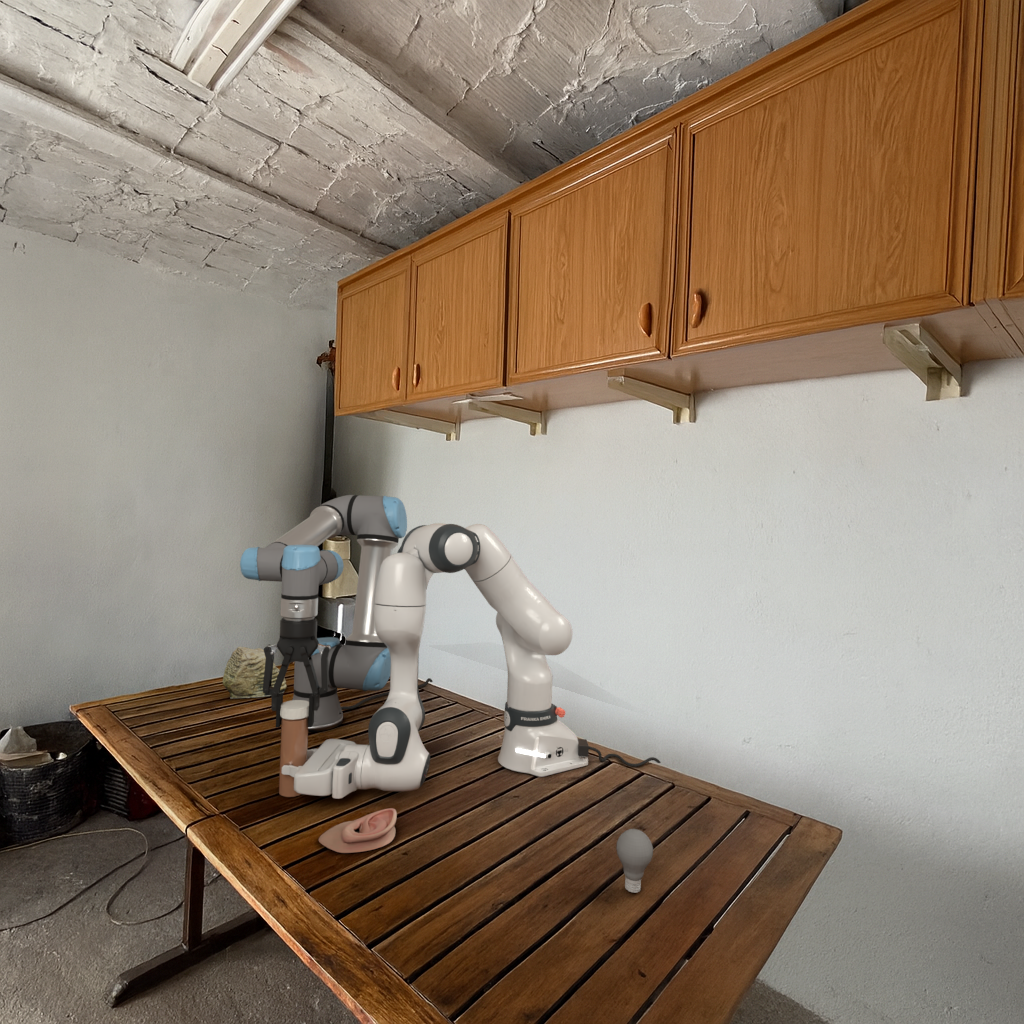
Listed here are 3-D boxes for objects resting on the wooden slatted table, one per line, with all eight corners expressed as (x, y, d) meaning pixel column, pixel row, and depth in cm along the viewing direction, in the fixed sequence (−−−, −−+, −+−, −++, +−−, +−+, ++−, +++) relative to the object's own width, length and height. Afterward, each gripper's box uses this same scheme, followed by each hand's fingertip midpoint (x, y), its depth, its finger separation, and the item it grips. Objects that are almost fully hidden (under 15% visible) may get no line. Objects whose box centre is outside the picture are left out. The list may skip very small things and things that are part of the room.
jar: (301, 783, 140) (304, 702, 139) (309, 793, 135) (312, 709, 135) (275, 788, 136) (278, 706, 136) (282, 799, 132) (286, 713, 132)
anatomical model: (310, 826, 114) (340, 797, 125) (309, 848, 114) (339, 817, 125) (379, 837, 111) (403, 806, 122) (378, 859, 111) (403, 827, 123)
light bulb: (610, 879, 108) (613, 822, 108) (644, 879, 109) (647, 822, 109) (619, 902, 102) (622, 840, 102) (655, 901, 103) (658, 840, 103)
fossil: (218, 695, 195) (220, 647, 195) (278, 685, 208) (279, 640, 207) (228, 703, 189) (230, 653, 188) (289, 692, 201) (290, 645, 201)
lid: (286, 721, 131) (287, 711, 131) (275, 713, 136) (276, 702, 136) (315, 716, 135) (315, 705, 135) (303, 708, 140) (303, 698, 140)
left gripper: (247, 620, 130) (243, 732, 130) (342, 621, 133) (338, 731, 133) (257, 613, 137) (253, 719, 138) (346, 615, 140) (342, 718, 141)
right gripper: (367, 733, 145) (307, 730, 146) (338, 771, 125) (269, 767, 126) (365, 760, 145) (306, 757, 146) (337, 803, 125) (268, 798, 126)
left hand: (294, 725), depth 136 cm, fingers closed on lid, 6 cm apart
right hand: (289, 762), depth 136 cm, fingers closed on jar, 5 cm apart
